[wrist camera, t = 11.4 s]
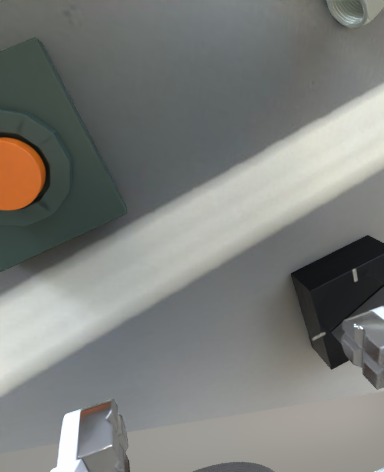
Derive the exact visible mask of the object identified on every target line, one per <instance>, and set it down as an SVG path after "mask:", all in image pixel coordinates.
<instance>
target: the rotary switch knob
mask: <svg viewBox="0 0 384 472" xmlns="http://www.w3.org/2000/svg"><path fill="white" fill-rule="evenodd" d="M381 306H383V307H384V286H383V287H382V288H381V289H380V290H379V291H378V292H377V293H375V294H374V295H373V296H372V297H371V298H370V299H369V300H367V301H366V302H365V303H364V304H363V305H362V306H361V307H359V308H358V309H357V310H356V311H355V312H354V313H353V314H351V315H350V316H349V317H352V316H355V315H358V314H361V313H363V312H366V311H369V310H372V309H375V308H378V307H381ZM349 317H348V318H349ZM331 333H332V334H333V335H334V336H335V338H336V339H337V340H338V341H339V342H340V343H341V344H342V337H343V335H344V334H345V331H344V330H343V329H342V323H341V324H340V325H339V326H338V327H337V328H335V329H334V330H333V331H332V332H331Z"/></svg>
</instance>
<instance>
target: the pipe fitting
mask: <svg viewBox="0 0 384 472" xmlns="http://www.w3.org/2000/svg"><path fill="white" fill-rule="evenodd" d="M327 4H328V8H329V10H330V12H331V14H332V15H333V17H334V18H335V19H336V20H337V21H338V22H339V23H341V24H342V25H344V26H346V27H348V28H351V29H357V28H360V27H362V26H364V25H366V24H368V23H370V22H371V21H372V20H373V19H374V18H375V17H376V15H377V14H378V13H379V12H380V11H381V10H382V8H383V7H384V0H327Z"/></svg>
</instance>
